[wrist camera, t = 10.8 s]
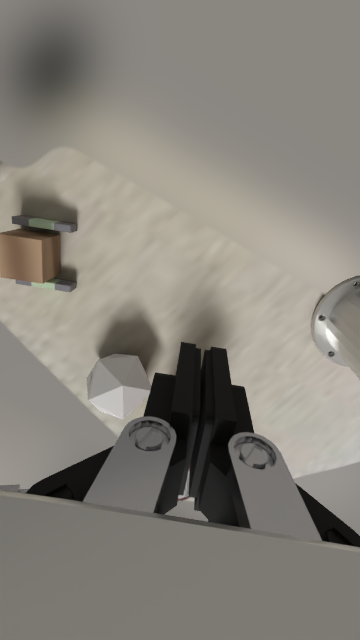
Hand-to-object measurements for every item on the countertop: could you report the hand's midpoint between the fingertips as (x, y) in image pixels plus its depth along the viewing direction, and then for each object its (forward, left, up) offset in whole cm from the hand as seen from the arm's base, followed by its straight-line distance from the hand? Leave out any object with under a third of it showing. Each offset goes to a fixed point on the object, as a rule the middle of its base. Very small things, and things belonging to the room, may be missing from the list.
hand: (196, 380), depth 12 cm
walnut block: (+20, +4, -29) cm, 36 cm away
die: (+8, +19, -29) cm, 36 cm away
